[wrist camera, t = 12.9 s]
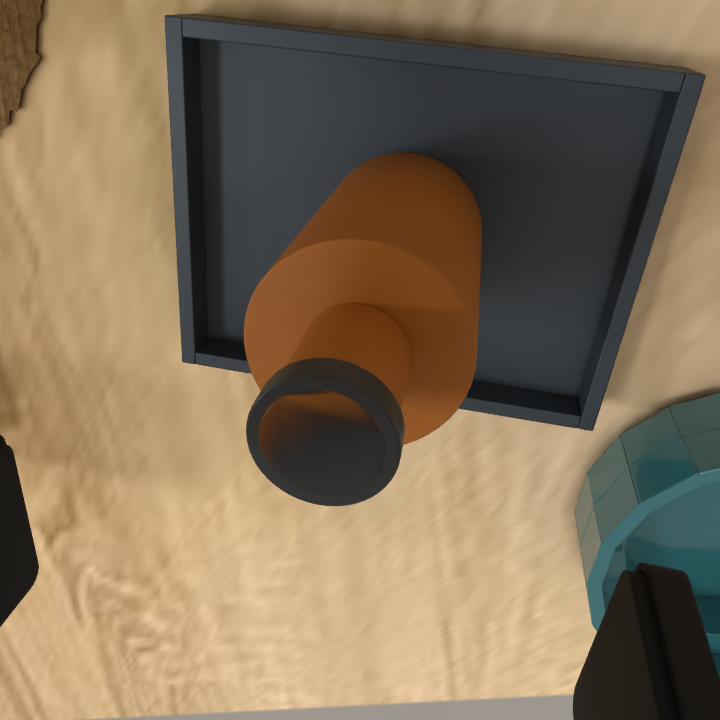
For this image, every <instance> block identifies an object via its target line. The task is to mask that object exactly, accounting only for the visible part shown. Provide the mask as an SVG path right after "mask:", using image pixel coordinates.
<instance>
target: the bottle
mask: <svg viewBox="0 0 720 720" xmlns="http://www.w3.org/2000/svg"><path fill="white" fill-rule="evenodd" d="M481 251H482V220H481V214H480V210H479V207H478V204H477V202H476V199H475V197H474V195H473V193H472V192H471V190H470V188H469V187H468V185H467V184H466V183H465V182H464V181H463V179H462V178H461V177H460V176H459V175H458V174H457V173H456V172H454V171H453V170H452V169H451V168H449V167H448V166H446V165H445V164H443V163H442V162H439V161H437V160H435V159H433V158H431V157H428V156H425V155H421V154H416V153H406V152H398V153H389V154H384V155H380V156H377V157H374V158H372V159H369V160H368V161H366V162H364V163H362V164H360V165H359V166H357V167H356V168H355V169H353V170H352V171H351V172H350V173H349V174H348V175H347V176H346V177H345V178H344V179H343V180H342V182H341V183H340V184H339V185H338V187H337V188H336V189H335V190H334V191H333V193H332V194H331V195H330V196H329V198H328V199H327V200H326V201H325V202H324V204H323V205H322V206H321V207H320V209H319V210H318V211H317V212H316V213H315V215H314V216H313V217H312V218H311V220H310V221H309V222H308V223H307V225H306V226H305V227H304V228H303V229H302V231H301V232H300V233H299V234H298V236H297V237H296V238H295V239H294V240H293V242H292V243H291V244H290V245H289V247H288V248H287V249H286V250H285V251H284V253H283V254H282V255H281V256H280V258H279V259H278V260H277V261H276V262H275V264H274V265H273V266H272V267H271V269H270V270H269V271H268V272H267V273H266V275H265V276H264V277H263V279H262V280H261V281H260V282H259V284H258V286H257V287H256V289H255V291H254V293H253V294H252V297H251V300H250V302H249V305H248V307H247V312H246V316H245V322H244V346H245V352H246V357H247V361H248V364H249V367H250V370H251V373H252V375H253V377H254V379H255V381H256V383H257V385H258V387H259V388H260V390H261V392H260V393H259V395H258V397H257V399H256V400H255V402H254V404H253V405H252V407H251V410H250V412H249V415H248V419H247V425H246V436H247V443H248V447H249V450H250V453H251V455H252V457H253V459H254V461H255V463H256V465H257V466H258V468H259V469H260V470H261V472H262V473H263V474H264V475H265V476H266V477H267V478H268V479H269V480H270V481H271V482H272V483H273V484H274V485H276V486H277V487H278V488H280V489H281V490H282V491H284V492H286V493H288V494H289V495H291V496H293V497H296V498H298V499H300V500H303V501H306V502H309V503H313V504H317V505H325V506H345V505H351V504H356V503H359V502H362V501H365V500H367V499H369V498H371V497H373V496H374V495H376V494H377V493H379V492H380V491H381V490H382V489H384V488H385V487H386V486H387V485H388V483H389V482H390V481H391V480H392V478H393V477H394V475H395V473H396V471H397V469H398V466H399V462H400V458H401V453H402V448H403V445H404V444H407V443H410V442H413V441H416V440H418V439H420V438H422V437H424V436H426V435H428V434H430V433H431V432H433V431H434V430H436V429H437V428H439V427H440V426H441V425H442V424H444V423H445V422H446V421H447V420H448V419H449V418H450V417H451V416H452V415H453V414H454V413H455V412H456V410H457V409H458V408H459V407H460V405H461V404H462V402H463V401H464V399H465V397H466V396H467V393H468V391H469V389H470V387H471V384H472V381H473V377H474V374H475V369H476V361H477V344H478V321H479V298H480V275H481Z"/></svg>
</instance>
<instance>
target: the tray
mask: <svg viewBox="0 0 720 720" xmlns="http://www.w3.org/2000/svg"><path fill="white" fill-rule="evenodd" d="M165 31H166V51H167V71H168V90H169V110H170V130H171V149H172V169H173V189H174V208H175V228H176V248H177V267H178V287H179V307H180V326H181V346H182V362H185V363H191V364H198V365H204V366H209V367H215V368H221V369H227V370H233V371H239V372H245V373H251V370H250V367H249V364H248V361H247V357H246V352H245V346H244V322H245V316H246V312H247V307H248V305H249V302H250V300H251V297H252V294H253V293H254V291H255V289H256V287H257V286H258V284H259V282H260V281H261V280H262V279H263V277H264V276H265V275H266V273H267V272H268V271H269V270H270V269H271V267H272V266H273V265H274V264H275V262H276V261H277V260H278V259H279V258H280V256H281V255H282V254H283V253H284V251H285V250H286V249H287V248H288V247H289V245H290V244H291V243H292V242H293V240H294V239H295V238H296V237H297V236H298V234H299V233H300V232H301V231H302V229H303V228H304V227H305V226H306V225H307V223H308V222H309V221H310V220H311V218H312V217H313V216H314V215H315V213H316V212H317V211H318V210H319V209H320V207H321V206H322V205H323V204H324V202H325V201H326V200H327V199H328V198H329V196H330V195H331V194H332V193H333V191H334V190H335V189H336V188H337V187H338V185H339V184H340V183H341V182H342V180H343V179H344V178H345V177H346V176H347V175H348V174H349V173H350V172H351V171H352V170H353V169H355V168H356V167H357V166H359V165H360V164H362V163H364V162H366V161H368V160H369V159H372V158H374V157H377V156H380V155H384V154H389V153H398V152H406V153H416V154H421V155H425V156H428V157H431V158H433V159H435V160H437V161H439V162H442V163H443V164H445V165H446V166H448V167H449V168H451V169H452V170H453V171H454V172H456V173H457V174H458V175H459V176H460V177H461V178H462V179H463V181H464V182H465V183H466V184H467V185H468V187H469V188H470V190H471V192H472V193H473V195H474V197H475V199H476V202H477V204H478V207H479V210H480V214H481V220H482V251H481V275H480V298H479V321H478V344H477V361H476V369H475V374H474V377H473V381H472V384H471V387H470V389H469V391H468V393H467V396H466V397H465V399H464V401H463V402H462V404H461V405H460V407H459V409H465V410H471V411H477V412H483V413H488V414H494V415H500V416H506V417H512V418H518V419H524V420H530V421H536V422H542V423H548V424H554V425H560V426H566V427H572V428H579V429H584V430H590V431H593V429H594V426H595V423H596V419H597V416H598V413H599V410H600V407H601V404H602V401H603V397H604V394H605V391H606V388H607V385H608V382H609V379H610V375H611V372H612V369H613V366H614V363H615V360H616V357H617V353H618V350H619V347H620V344H621V341H622V338H623V335H624V332H625V328H626V325H627V322H628V319H629V316H630V313H631V310H632V306H633V303H634V300H635V297H636V294H637V291H638V288H639V284H640V281H641V278H642V275H643V272H644V269H645V266H646V262H647V259H648V256H649V253H650V250H651V247H652V244H653V240H654V237H655V234H656V231H657V228H658V225H659V222H660V218H661V215H662V212H663V209H664V206H665V203H666V200H667V197H668V193H669V190H670V187H671V184H672V181H673V178H674V175H675V171H676V168H677V165H678V162H679V159H680V156H681V153H682V149H683V146H684V143H685V140H686V137H687V134H688V131H689V127H690V124H691V121H692V118H693V115H694V112H695V109H696V105H697V102H698V99H699V96H700V93H701V90H702V87H703V83H704V80H705V77H706V76H705V74H702V73H700V72H697V71H694V70H691V69H688V68H685V67H676V66H667V65H658V64H649V63H640V62H630V61H621V60H612V59H603V58H594V57H584V56H575V55H566V54H557V53H548V52H538V51H529V50H520V49H511V48H502V47H492V46H483V45H474V44H465V43H456V42H446V41H437V40H428V39H419V38H410V37H400V36H391V35H382V34H373V33H364V32H355V31H345V30H336V29H327V28H318V27H309V26H299V25H290V24H281V23H272V22H263V21H253V20H244V19H235V18H226V17H217V16H207V15H198V14H186V15H185V14H179V15H166V16H165ZM251 374H252V373H251Z"/></svg>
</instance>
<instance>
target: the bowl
mask: <svg viewBox="0 0 720 720" xmlns="http://www.w3.org/2000/svg"><path fill="white" fill-rule="evenodd" d="M575 518H576V525H577V531H578V538H579V545H580V551H581V557H582V564H583V570H584V576H585V583H586V589H587V595H588V602H589V608H590V614H591V620H592V625H593V626H594V628H595V629H596V631H598V629H599V626H600V624H601V622H602V619H603V617H604V614H605V612H606V609H607V607H608V604H609V602H610V599H611V597H612V594H613V592H614V589H615V587H616V584H617V582H618V580H619V577H620V575H621V573H622V571H624V570H629V571H634V570H635V569H636V567H637V565H638V564H639V563H647V564H652V565H657V566H662V567H667V568H672V569H677V570H682V571H684V572H685V573H686V574H687V575H688V578H689V580H690V583H691V586H692V590H693V593H694V596H695V600H696V603H697V606H698V609H699V613H700V616H701V619H702V623H703V626H704V629H705V632H706V636H707V639H708V642H709V646H710V649H711V652H712V655H713V659H714V662H715V665H716V668H717V672H718V675H719V678H720V393H718V394H714V395H710V396H706V397H702V398H699V399H695V400H691V401H687V402H683V403H679V404H675V405H671V406H670V408H669V407H667V408H665V409H664V410H662V411H660V412H659V413H657V414H655V415H653V416H652V417H650V418H648V419H647V420H645V421H643V422H641V423H640V424H638V425H636V426H635V427H633V428H631V429H630V430H628V431H626V432H624V433H623V434H621V436H620V435H619V436H618V437H617V439H616V440H615V441H614V442H613V443H612V444H611V445H610V447H609V448H608V449H607V450H606V451H605V452H604V453H603V455H602V456H601V457H600V458H599V459H598V460H597V462H596V463H595V464H594V465H593V466H592V467H591V468H590V470H589V471H588V472H587V475H586V478H585V481H584V484H583V487H582V490H581V493H580V496H579V499H578V503H577V506H576V509H575Z"/></svg>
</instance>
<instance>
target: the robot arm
mask: <svg viewBox="0 0 720 720" xmlns="http://www.w3.org/2000/svg"><path fill="white" fill-rule="evenodd" d="M38 569H39V565H38V559H37V555H36V550H35V546H34V541H33V537H32V533H31V528H30V524H29V519H28V515H27V510H26V506H25V502H24V497H23V493H22V488H21V484H20V479H19V475H18V471H17V466H16V462H15V457H14V453H13V450H12V448H11V447H10V446H9V445H6V442H5V439H4V438H3V437H2V436H1V435H0V627H1V625H2V624H3V623H4V622H5V620H6V619H7V618H8V616H9V615H10V614H11V613H12V611H13V610H14V609H15V608H16V606H17V605H18V604H19V603H20V601H21V600H22V599H23V598H24V596H25V595H26V594H27V592H28V591H29V590H30V589H31V587H32V586H33V584H34V582H35V580H36V577H37V574H38ZM573 717H574V720H720V678H719V675H718V672H717V668H716V665H715V662H714V659H713V655H712V652H711V649H710V646H709V642H708V639H707V636H706V632H705V629H704V626H703V623H702V619H701V616H700V613H699V609H698V606H697V603H696V600H695V596H694V593H693V590H692V586H691V583H690V580H689V578H688V575H687V574H686V573H685V572H684V571H682V570H677V569H672V568H667V567H662V566H657V565H652V564H647V563H639V564H638V565H637V567H636V569H635V570H634V571H629V570H624V571H622V573H621V575H620V577H619V580H618V582H617V584H616V587H615V589H614V592H613V594H612V597H611V599H610V602H609V604H608V607H607V609H606V612H605V614H604V617H603V619H602V622H601V624H600V626H599V629H598V631H597V634H596V636H595V639H594V641H593V644H592V646H591V649H590V651H589V654H588V656H587V659H586V661H585V664H584V666H583V668H582V671H581V673H580V676H579V678H578V681H577V683H576V686H575V690H574V697H573Z"/></svg>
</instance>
